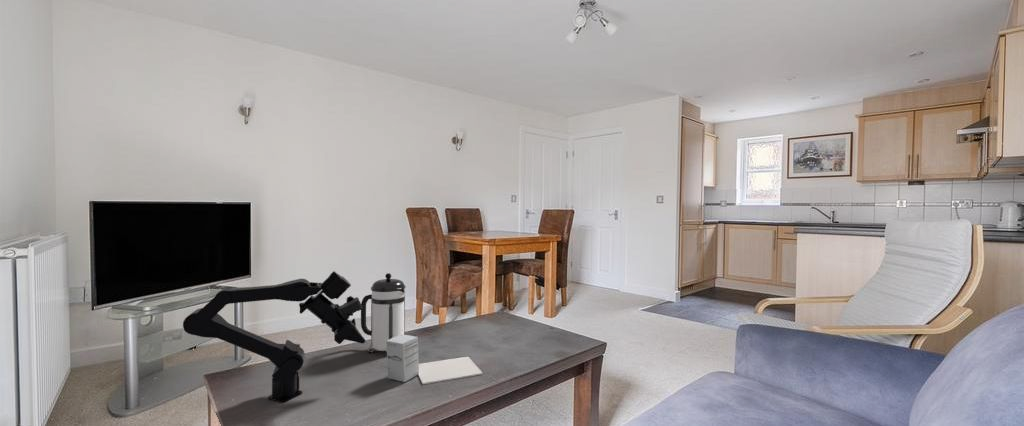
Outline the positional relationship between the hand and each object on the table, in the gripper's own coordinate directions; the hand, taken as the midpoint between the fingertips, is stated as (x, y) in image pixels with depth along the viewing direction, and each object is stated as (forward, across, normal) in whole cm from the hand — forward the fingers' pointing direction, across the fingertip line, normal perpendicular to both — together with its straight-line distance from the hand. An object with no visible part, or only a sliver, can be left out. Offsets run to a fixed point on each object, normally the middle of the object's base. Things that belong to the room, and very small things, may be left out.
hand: (364, 341), depth 127 cm
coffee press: (+16, +28, +3) cm, 33 cm away
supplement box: (+18, 0, +1) cm, 18 cm away
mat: (+28, 0, -10) cm, 30 cm away
